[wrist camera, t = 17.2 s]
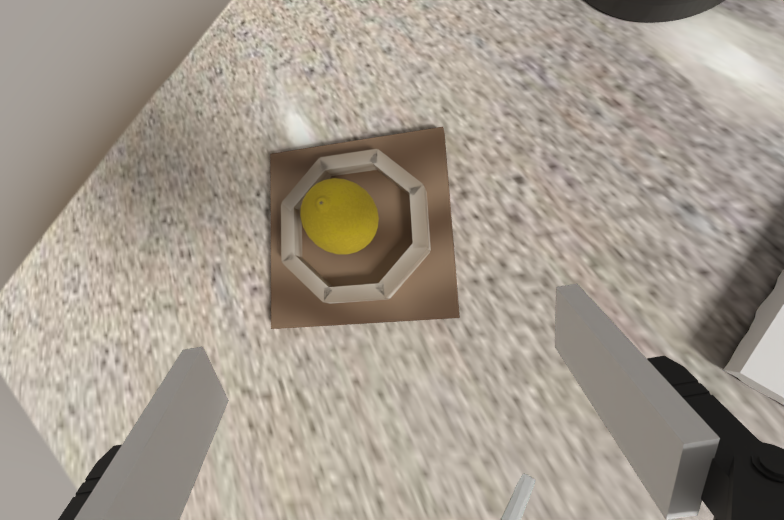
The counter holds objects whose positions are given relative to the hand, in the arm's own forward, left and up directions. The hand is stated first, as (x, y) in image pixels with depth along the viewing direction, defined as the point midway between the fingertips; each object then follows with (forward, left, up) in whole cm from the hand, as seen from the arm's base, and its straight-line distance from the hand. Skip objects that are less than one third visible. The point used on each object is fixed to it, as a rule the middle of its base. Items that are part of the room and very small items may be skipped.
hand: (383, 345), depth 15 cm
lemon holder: (-9, -6, -18) cm, 21 cm away
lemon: (-9, -6, -17) cm, 20 cm away
